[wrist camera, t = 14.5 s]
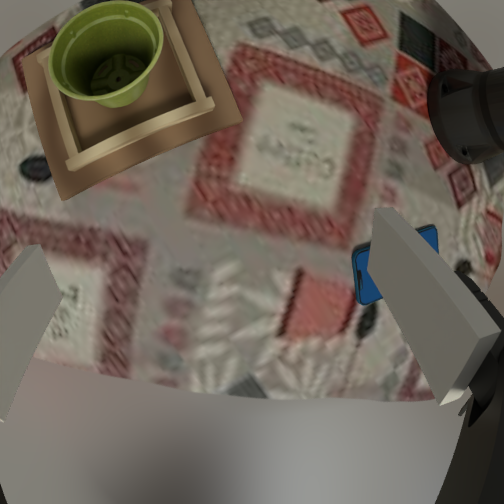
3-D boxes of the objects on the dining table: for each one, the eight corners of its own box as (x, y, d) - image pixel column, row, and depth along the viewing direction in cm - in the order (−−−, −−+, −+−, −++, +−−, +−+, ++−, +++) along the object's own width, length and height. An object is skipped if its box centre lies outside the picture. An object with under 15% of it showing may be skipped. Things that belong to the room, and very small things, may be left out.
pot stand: (185, -5, 27) (186, -21, 24) (240, 123, 32) (247, 115, 28) (26, 63, 24) (14, 53, 21) (66, 200, 29) (54, 201, 25)
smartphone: (439, 273, 41) (359, 308, 38) (435, 271, 42) (355, 305, 39) (436, 224, 39) (353, 252, 37) (432, 223, 40) (349, 251, 37)
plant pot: (116, 29, 25) (102, -14, 17) (184, 67, 28) (188, 28, 19) (60, 97, 25) (27, 70, 17) (127, 140, 28) (109, 122, 20)
